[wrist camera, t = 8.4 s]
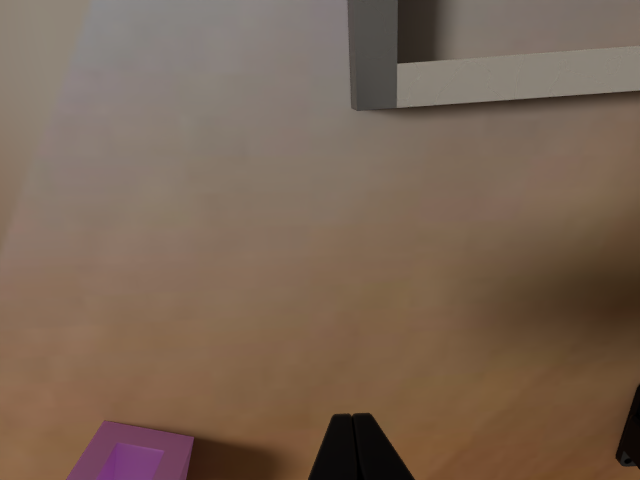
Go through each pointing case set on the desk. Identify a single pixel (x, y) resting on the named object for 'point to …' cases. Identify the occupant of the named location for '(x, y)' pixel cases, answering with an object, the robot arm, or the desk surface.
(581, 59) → the white u-shaped frame
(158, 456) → the bracket
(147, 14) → the desk surface
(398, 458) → the robot arm
